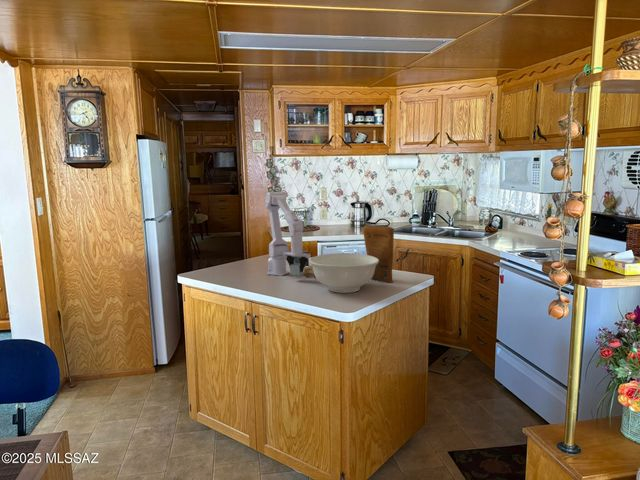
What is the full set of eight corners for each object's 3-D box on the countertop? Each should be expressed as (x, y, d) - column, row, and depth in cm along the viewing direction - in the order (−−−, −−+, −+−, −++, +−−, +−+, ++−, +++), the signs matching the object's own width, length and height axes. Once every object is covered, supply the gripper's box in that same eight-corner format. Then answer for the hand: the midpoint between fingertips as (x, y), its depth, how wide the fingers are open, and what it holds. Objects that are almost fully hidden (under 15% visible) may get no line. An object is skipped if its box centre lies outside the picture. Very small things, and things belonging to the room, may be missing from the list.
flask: (292, 266, 275) (292, 248, 274) (294, 265, 278) (294, 247, 276) (308, 267, 273) (308, 248, 271) (309, 266, 276) (309, 248, 274)
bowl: (337, 277, 247) (337, 250, 244) (391, 287, 226) (391, 257, 224) (295, 290, 222) (295, 259, 220) (351, 302, 202) (352, 269, 199)
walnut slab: (303, 277, 250) (303, 272, 249) (308, 274, 255) (308, 270, 255) (313, 278, 247) (313, 273, 247) (318, 276, 252) (318, 271, 252)
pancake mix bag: (388, 284, 231) (389, 228, 227) (361, 278, 246) (361, 224, 241) (397, 282, 236) (398, 226, 231) (369, 276, 250) (370, 223, 246)
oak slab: (304, 272, 249) (303, 267, 249) (309, 270, 254) (309, 266, 254) (313, 273, 247) (313, 268, 246) (318, 271, 252) (318, 266, 251)
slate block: (290, 274, 239) (290, 265, 239) (294, 272, 244) (294, 263, 243) (299, 275, 237) (299, 265, 237) (303, 273, 242) (303, 263, 241)
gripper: (280, 244, 238) (280, 271, 240) (306, 246, 232) (306, 274, 234) (286, 242, 244) (287, 268, 246) (312, 244, 238) (312, 271, 240)
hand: (296, 271), depth 240 cm, fingers closed on slate block, 5 cm apart
